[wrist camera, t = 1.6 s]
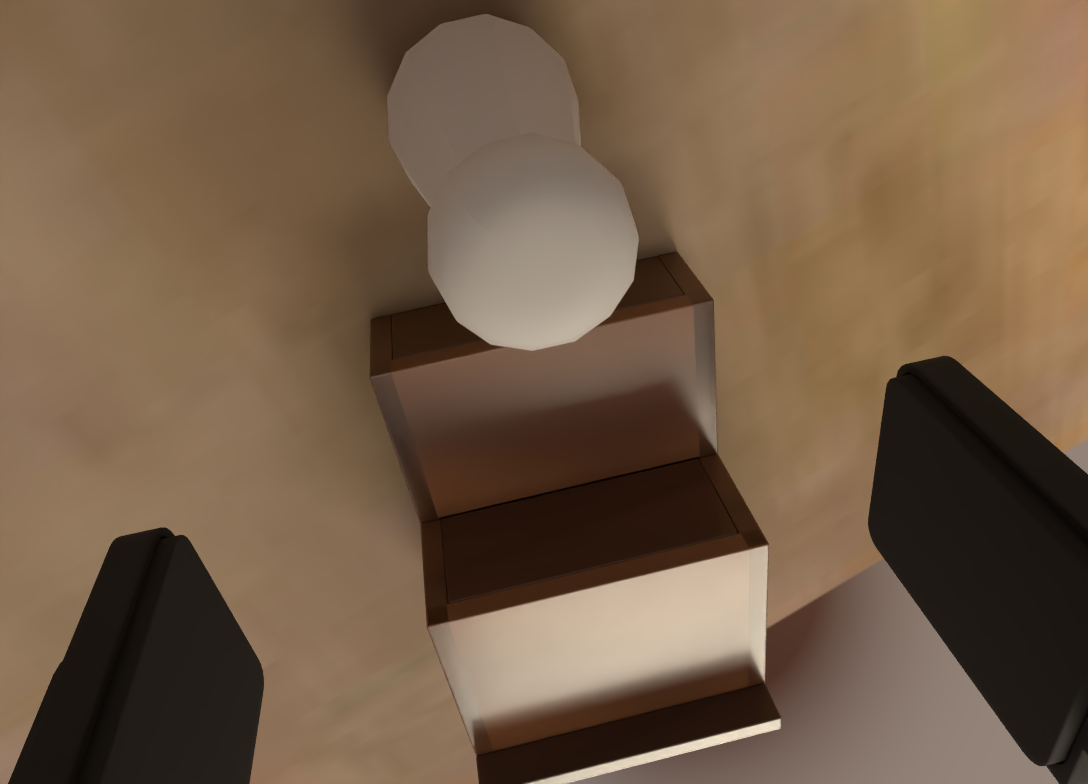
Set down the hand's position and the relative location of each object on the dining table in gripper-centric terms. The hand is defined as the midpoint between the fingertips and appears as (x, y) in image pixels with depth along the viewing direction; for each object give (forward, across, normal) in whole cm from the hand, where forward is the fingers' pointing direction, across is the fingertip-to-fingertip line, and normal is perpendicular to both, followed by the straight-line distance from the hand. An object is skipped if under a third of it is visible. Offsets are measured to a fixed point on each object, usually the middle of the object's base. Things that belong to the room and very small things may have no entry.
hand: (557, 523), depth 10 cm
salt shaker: (+19, -1, -1) cm, 19 cm away
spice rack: (+19, -2, +14) cm, 24 cm away
